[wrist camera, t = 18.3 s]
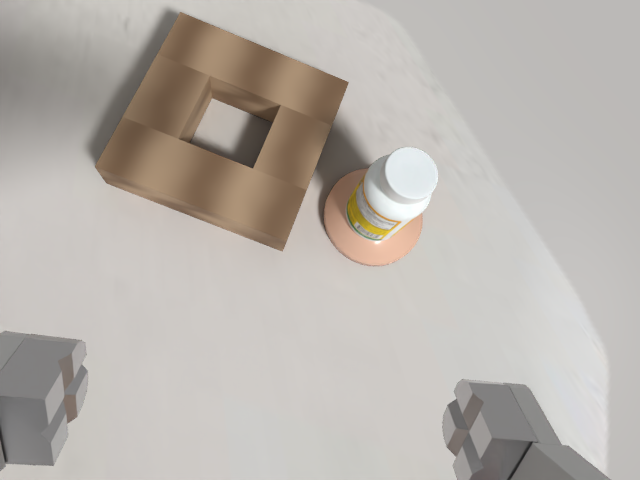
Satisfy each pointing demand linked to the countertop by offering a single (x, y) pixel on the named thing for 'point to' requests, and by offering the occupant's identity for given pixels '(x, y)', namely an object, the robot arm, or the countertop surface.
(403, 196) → the supplement bottle
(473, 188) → the countertop surface
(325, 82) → the frame
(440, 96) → the countertop surface
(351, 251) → the peach round disc
